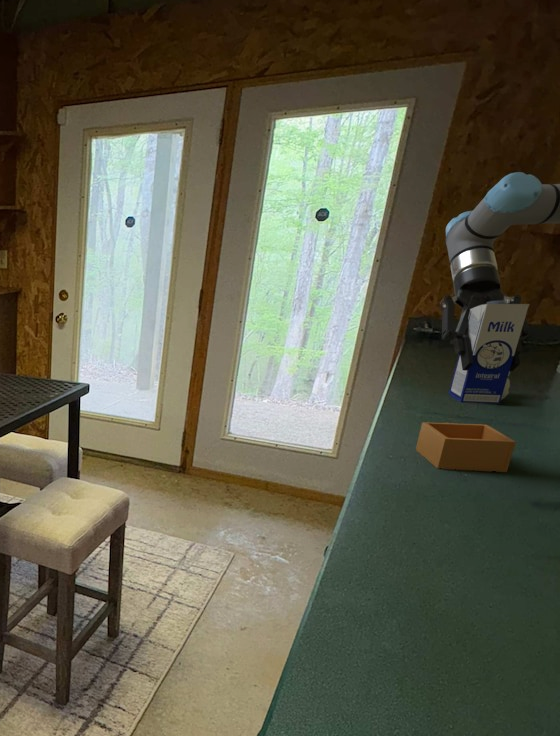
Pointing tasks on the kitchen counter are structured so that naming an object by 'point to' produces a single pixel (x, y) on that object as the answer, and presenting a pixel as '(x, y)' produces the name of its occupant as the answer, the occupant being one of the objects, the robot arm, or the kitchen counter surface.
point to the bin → (465, 447)
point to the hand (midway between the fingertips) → (490, 366)
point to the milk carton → (489, 352)
